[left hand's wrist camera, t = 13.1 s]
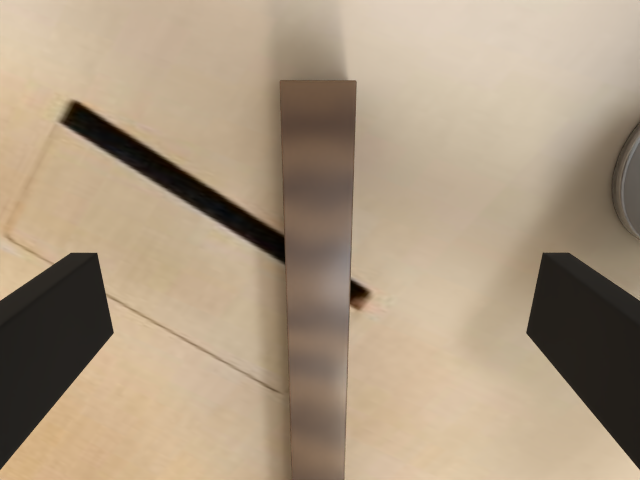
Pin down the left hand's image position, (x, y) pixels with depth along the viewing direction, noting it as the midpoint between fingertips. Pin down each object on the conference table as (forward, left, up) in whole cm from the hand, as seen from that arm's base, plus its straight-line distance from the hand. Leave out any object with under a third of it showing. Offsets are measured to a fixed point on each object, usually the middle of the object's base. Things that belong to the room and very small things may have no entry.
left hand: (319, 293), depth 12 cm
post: (+11, +32, -26) cm, 42 cm away
